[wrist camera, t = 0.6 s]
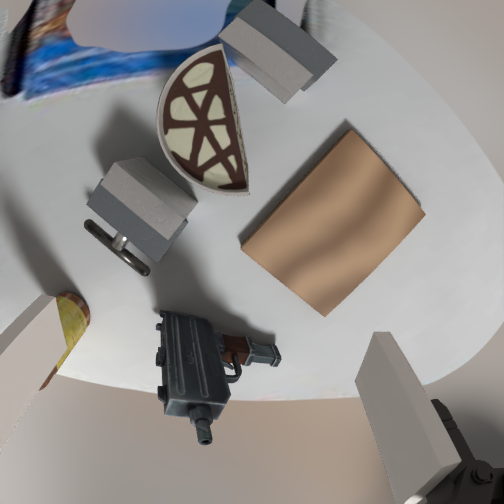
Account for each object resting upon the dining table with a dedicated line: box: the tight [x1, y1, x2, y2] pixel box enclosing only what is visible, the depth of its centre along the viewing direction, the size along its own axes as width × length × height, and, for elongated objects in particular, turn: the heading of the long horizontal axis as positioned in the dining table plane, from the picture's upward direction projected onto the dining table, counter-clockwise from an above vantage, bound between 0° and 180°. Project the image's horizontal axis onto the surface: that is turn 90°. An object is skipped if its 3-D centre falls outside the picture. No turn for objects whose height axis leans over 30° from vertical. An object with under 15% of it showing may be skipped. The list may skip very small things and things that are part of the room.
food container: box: [156, 43, 250, 196], centre depth 25 cm, size 12×6×10 cm, turn 10°
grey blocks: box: [84, 0, 338, 277], centre depth 27 cm, size 9×28×7 cm, turn 139°
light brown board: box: [241, 129, 426, 317], centre depth 33 cm, size 13×17×1 cm
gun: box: [156, 310, 281, 445], centre depth 31 cm, size 3×17×15 cm
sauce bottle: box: [38, 292, 90, 391], centre depth 28 cm, size 7×6×20 cm
